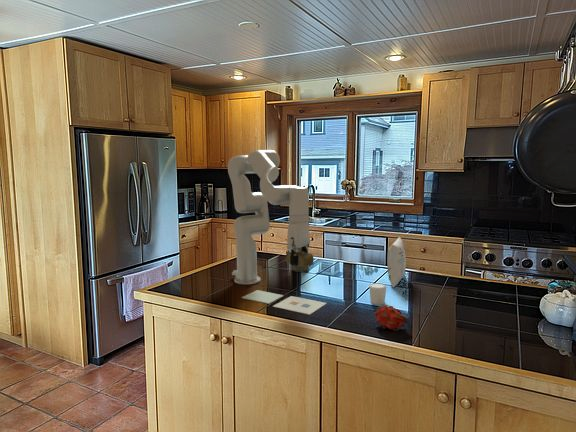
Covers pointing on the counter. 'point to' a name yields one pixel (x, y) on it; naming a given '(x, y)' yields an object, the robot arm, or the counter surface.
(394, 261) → the pouch
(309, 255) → the stone block
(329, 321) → the counter surface
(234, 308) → the counter surface
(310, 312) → the tile
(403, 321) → the dragon fruit
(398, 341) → the counter surface
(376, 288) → the white cylinder
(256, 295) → the pale green pad
